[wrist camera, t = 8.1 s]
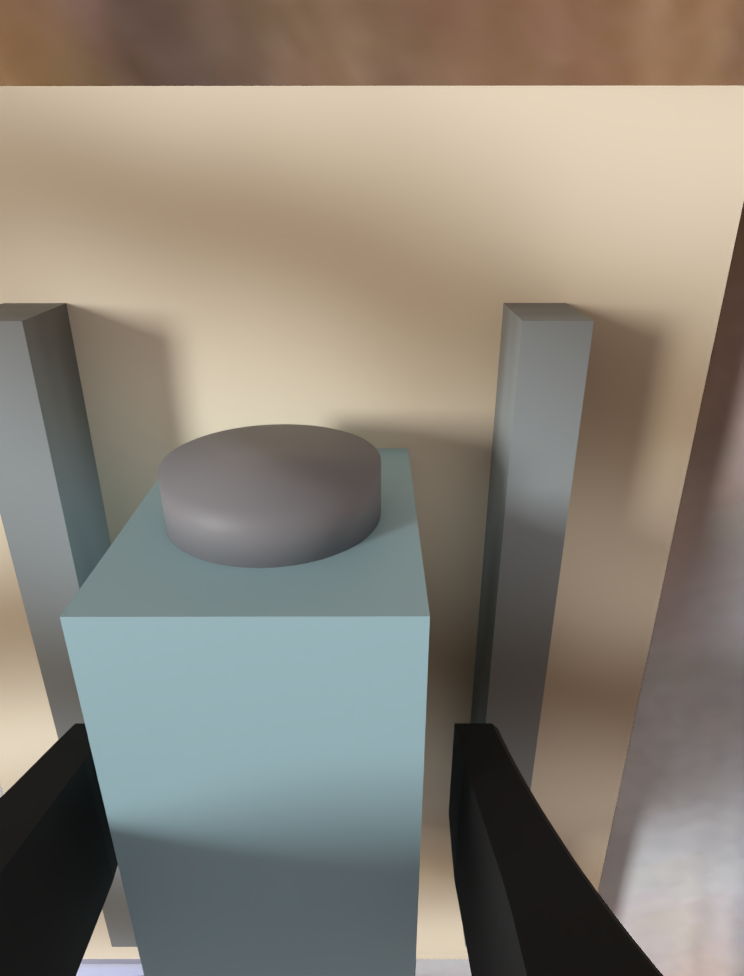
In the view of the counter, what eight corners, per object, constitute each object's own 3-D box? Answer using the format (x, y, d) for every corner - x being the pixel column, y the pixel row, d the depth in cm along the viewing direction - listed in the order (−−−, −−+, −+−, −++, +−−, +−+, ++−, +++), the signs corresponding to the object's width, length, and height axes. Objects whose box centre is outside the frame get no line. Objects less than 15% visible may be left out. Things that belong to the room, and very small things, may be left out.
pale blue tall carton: (399, 812, 16) (411, 1072, 11) (226, 812, 16) (166, 1072, 11) (408, 404, 11) (432, 551, 7) (173, 404, 11) (44, 553, 7)
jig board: (573, 921, 19) (601, 1023, 16) (71, 921, 19) (29, 1023, 16) (733, 93, 10) (833, 70, 8) (-170, 94, 10) (-319, 71, 8)
